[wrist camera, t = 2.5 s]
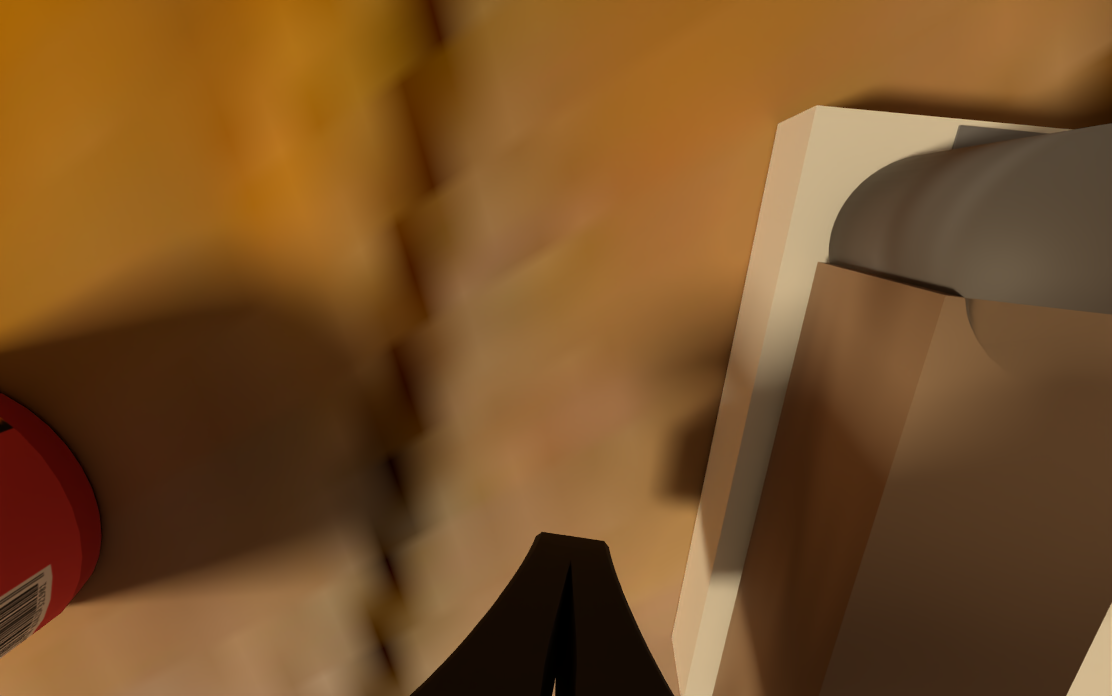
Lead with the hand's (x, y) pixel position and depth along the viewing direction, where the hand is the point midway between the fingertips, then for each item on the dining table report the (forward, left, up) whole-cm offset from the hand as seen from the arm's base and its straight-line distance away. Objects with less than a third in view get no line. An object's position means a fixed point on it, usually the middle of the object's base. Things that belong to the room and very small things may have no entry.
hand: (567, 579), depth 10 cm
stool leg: (+2, -5, -1) cm, 6 cm away
